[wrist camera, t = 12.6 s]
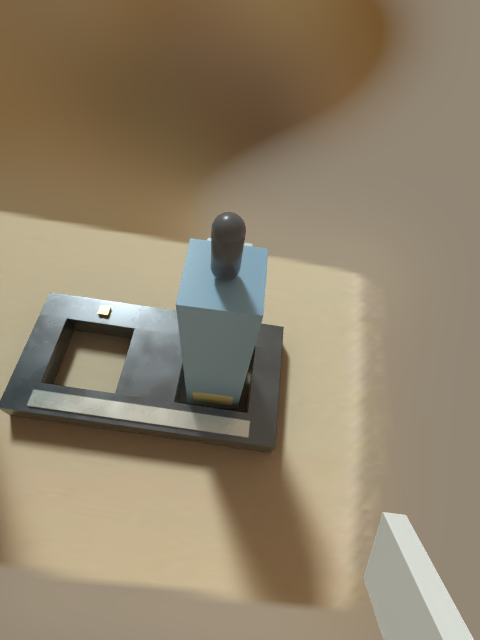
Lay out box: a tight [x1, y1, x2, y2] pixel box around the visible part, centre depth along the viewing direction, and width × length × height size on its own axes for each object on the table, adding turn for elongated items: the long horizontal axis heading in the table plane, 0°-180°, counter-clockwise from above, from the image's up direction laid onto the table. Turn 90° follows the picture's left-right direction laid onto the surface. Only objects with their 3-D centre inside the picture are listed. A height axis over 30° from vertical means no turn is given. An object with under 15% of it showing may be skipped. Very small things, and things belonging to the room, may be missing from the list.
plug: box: [176, 212, 268, 409], centre depth 23 cm, size 4×5×19 cm
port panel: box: [0, 292, 284, 453], centre depth 30 cm, size 20×10×2 cm, turn 83°
